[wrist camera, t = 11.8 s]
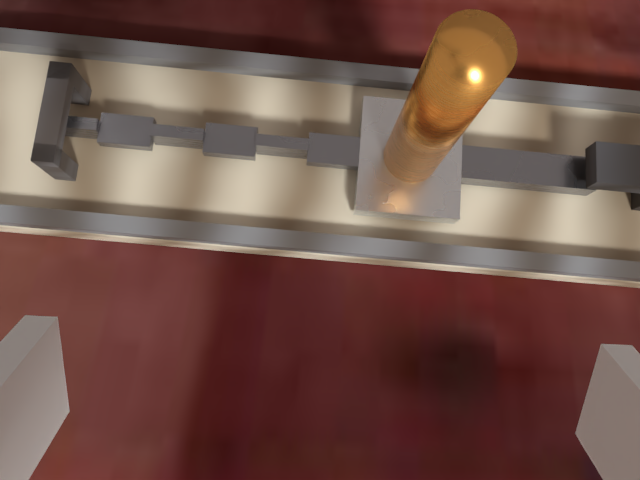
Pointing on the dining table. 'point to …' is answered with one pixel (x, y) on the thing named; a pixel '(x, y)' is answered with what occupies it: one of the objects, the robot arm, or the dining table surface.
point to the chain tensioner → (392, 134)
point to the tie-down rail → (300, 162)
